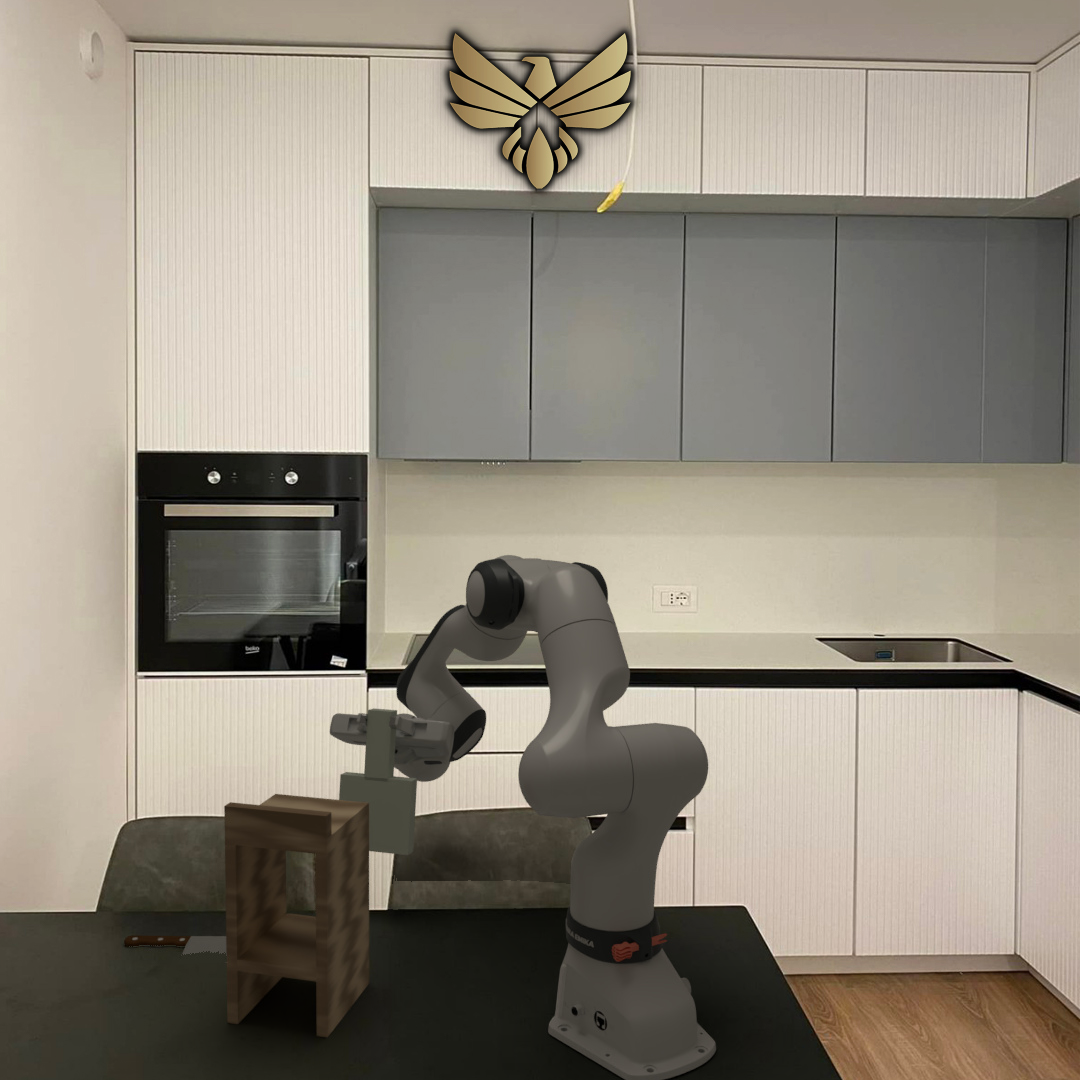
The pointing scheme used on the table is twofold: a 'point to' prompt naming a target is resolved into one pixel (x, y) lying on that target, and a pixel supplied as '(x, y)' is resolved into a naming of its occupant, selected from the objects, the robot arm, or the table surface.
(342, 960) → the rack
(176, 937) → the kitchen cleaver
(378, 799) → the grey paddle board
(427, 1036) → the table surface
